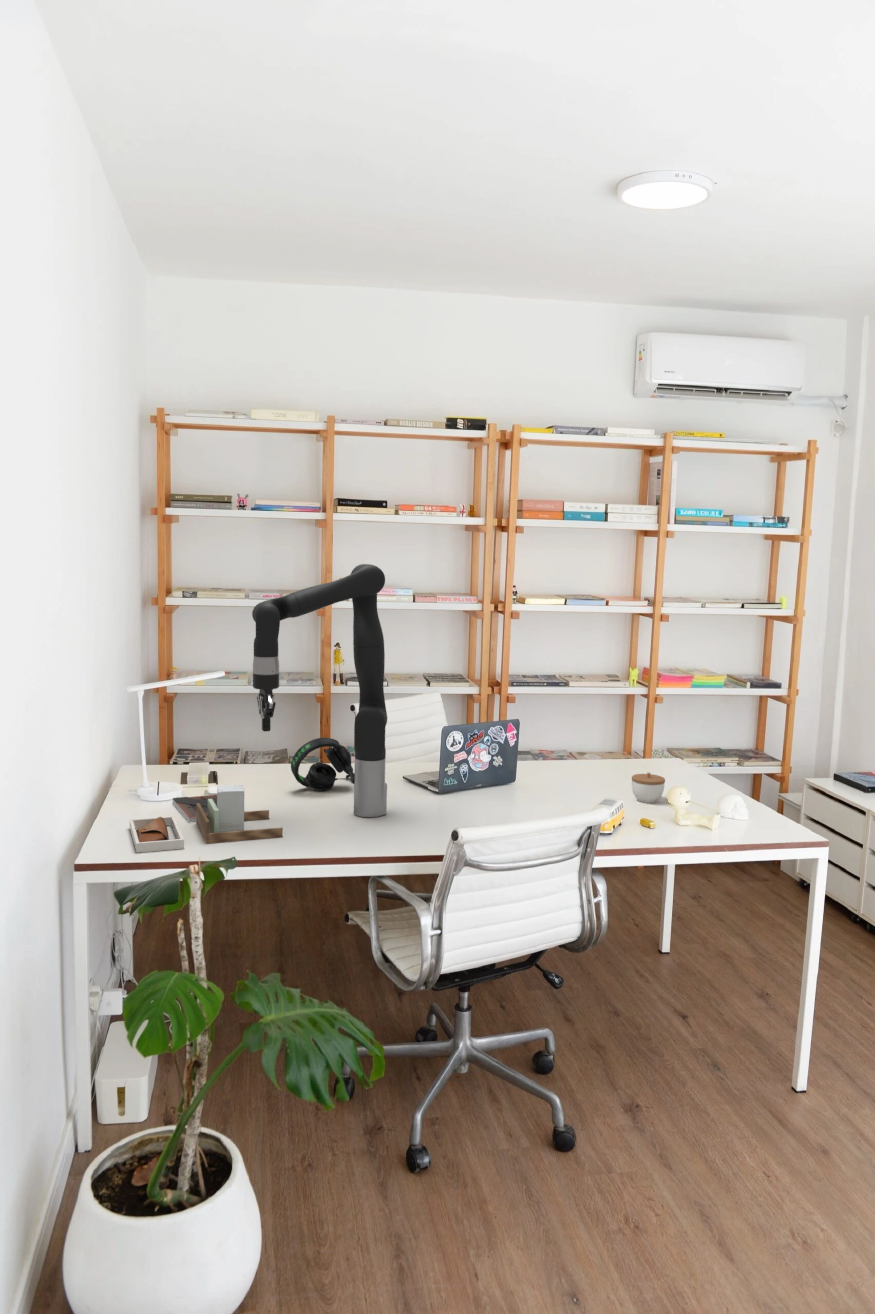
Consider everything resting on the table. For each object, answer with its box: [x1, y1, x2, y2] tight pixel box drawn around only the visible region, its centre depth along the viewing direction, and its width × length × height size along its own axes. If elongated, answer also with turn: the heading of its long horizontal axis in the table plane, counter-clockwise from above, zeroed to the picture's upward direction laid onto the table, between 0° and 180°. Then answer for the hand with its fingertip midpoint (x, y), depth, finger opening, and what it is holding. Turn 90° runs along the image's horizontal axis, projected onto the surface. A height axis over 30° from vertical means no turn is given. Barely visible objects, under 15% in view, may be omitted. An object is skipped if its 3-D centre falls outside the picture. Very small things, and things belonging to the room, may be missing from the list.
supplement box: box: [216, 784, 245, 833], centre depth 270 cm, size 7×7×13 cm
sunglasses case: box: [136, 816, 170, 842], centre depth 263 cm, size 18×7×7 cm
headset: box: [290, 737, 355, 792], centre depth 320 cm, size 18×14×29 cm
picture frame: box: [172, 794, 246, 824], centre depth 291 cm, size 16×2×22 cm
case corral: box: [129, 815, 185, 854], centre depth 262 cm, size 12×22×2 cm, turn 22°
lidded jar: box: [631, 771, 666, 804], centre depth 318 cm, size 11×11×9 cm
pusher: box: [208, 799, 219, 833], centre depth 269 cm, size 1×12×8 cm, turn 22°
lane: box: [195, 803, 284, 844], centre depth 272 cm, size 21×19×6 cm
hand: (266, 730), depth 280 cm, fingers closed
